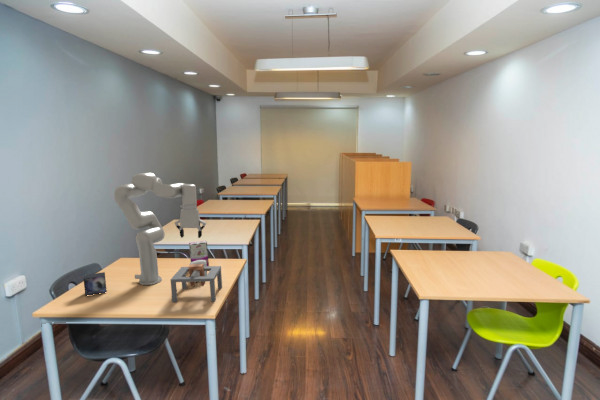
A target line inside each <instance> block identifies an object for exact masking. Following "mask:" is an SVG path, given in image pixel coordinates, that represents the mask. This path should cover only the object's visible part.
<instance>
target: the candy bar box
mask: <svg viewBox="0 0 600 400" xmlns="http://www.w3.org/2000/svg"><path fill="white" fill-rule="evenodd" d="M188 246H189V257H190V259H189V260H190V263H191V262H193V261H196V260H205V261H206V263H207V266H210V264H209V262H210V261H209V250H208V242H207V240H201V241H195V242H193V241H192V242H189V243H188Z"/></svg>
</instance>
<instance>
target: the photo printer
mask: <svg viewBox="0 0 600 400" xmlns="http://www.w3.org/2000/svg"><path fill="white" fill-rule="evenodd" d="M191 264H204V266H207V263H206V261H205V260H196V261H193V262H191V261H190V263H189V266H190V265H191ZM204 274H205V276H207V274H208V271H204ZM196 276H200V273H199V271H198V273H197V274H196ZM196 276H195V277H196Z"/></svg>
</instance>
